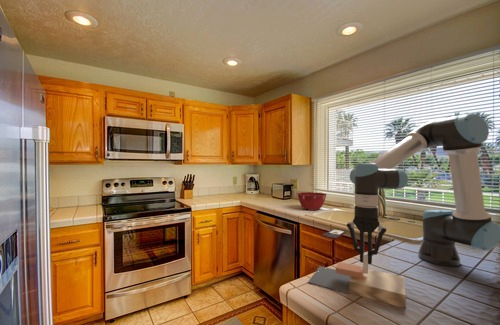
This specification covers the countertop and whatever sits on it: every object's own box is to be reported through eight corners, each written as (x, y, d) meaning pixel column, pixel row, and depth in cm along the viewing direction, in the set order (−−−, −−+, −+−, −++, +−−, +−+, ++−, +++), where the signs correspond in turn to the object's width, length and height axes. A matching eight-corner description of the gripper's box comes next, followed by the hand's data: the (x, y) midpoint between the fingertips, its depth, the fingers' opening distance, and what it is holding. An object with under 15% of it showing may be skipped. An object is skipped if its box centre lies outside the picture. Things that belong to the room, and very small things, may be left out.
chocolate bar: (321, 235, 144) (332, 229, 157) (321, 236, 144) (332, 230, 157) (335, 238, 138) (346, 231, 151) (335, 239, 138) (346, 233, 151)
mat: (355, 275, 92) (355, 274, 92) (348, 294, 79) (348, 293, 79) (319, 266, 100) (319, 266, 100) (308, 283, 86) (308, 281, 86)
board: (403, 287, 83) (403, 276, 83) (405, 308, 71) (405, 295, 71) (354, 276, 91) (354, 266, 91) (349, 292, 79) (349, 281, 79)
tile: (364, 272, 86) (364, 266, 86) (362, 278, 81) (362, 273, 81) (338, 267, 91) (338, 261, 91) (335, 273, 86) (335, 267, 86)
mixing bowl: (291, 209, 230) (291, 193, 230) (305, 205, 252) (305, 191, 252) (319, 213, 212) (319, 196, 212) (330, 208, 233) (330, 193, 233)
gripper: (344, 205, 83) (344, 271, 83) (387, 209, 77) (386, 281, 76) (348, 202, 90) (347, 264, 90) (387, 206, 83) (387, 272, 83)
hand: (365, 272), depth 83 cm, fingers closed
